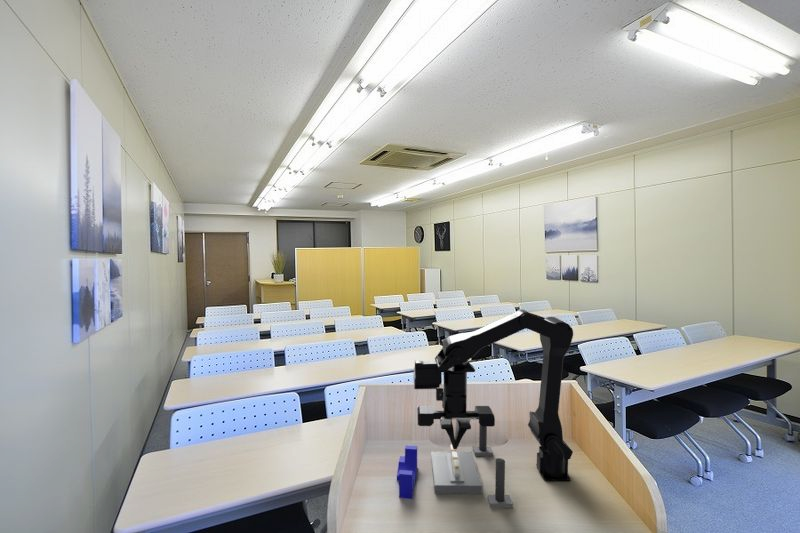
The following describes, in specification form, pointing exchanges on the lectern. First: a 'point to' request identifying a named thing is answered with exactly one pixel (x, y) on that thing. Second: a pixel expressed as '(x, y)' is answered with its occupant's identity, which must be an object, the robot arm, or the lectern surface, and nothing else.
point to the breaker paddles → (455, 461)
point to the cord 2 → (499, 488)
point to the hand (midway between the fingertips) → (454, 448)
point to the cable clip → (407, 472)
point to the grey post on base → (482, 443)
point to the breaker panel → (445, 474)
